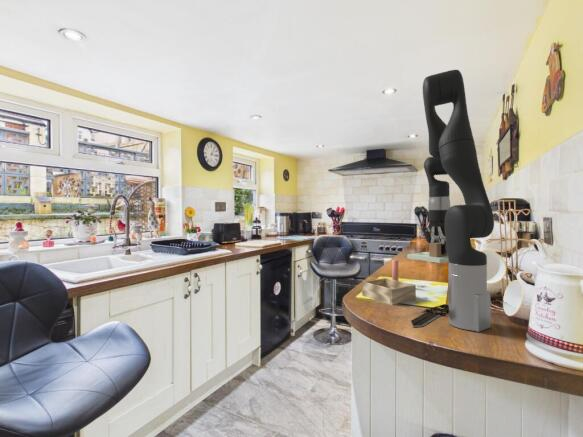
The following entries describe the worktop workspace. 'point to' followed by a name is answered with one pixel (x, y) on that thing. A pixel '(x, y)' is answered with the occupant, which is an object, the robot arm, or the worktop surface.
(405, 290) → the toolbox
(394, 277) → the rounded rod
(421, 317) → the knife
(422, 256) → the lid
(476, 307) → the robot arm
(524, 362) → the worktop surface
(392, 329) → the worktop surface
